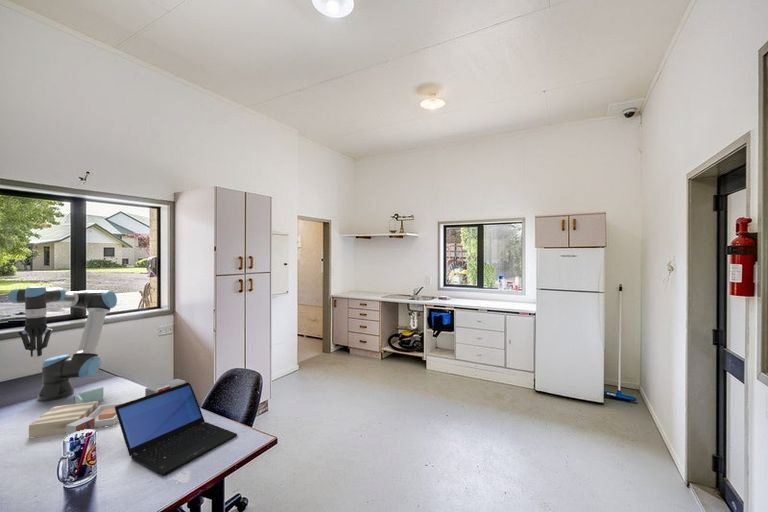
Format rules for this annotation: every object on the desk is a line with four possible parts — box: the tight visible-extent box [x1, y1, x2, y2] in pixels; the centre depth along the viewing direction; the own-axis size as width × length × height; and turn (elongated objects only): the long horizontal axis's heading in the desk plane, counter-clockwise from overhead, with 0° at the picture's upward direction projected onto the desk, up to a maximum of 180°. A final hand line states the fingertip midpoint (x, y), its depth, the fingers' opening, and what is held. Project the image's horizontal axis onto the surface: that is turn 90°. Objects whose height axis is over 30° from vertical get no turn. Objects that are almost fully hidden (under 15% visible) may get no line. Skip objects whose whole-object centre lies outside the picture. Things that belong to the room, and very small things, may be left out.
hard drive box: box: [144, 378, 187, 397], centre depth 165 cm, size 16×8×20 cm, turn 152°
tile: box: [98, 408, 116, 420], centre depth 171 cm, size 7×7×3 cm
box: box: [88, 401, 128, 429], centre depth 171 cm, size 20×13×4 cm, turn 20°
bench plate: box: [28, 401, 99, 439], centre depth 165 cm, size 20×18×6 cm
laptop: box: [115, 382, 238, 476], centre depth 149 cm, size 33×38×19 cm
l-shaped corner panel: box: [74, 387, 104, 406], centre depth 186 cm, size 12×12×8 cm
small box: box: [65, 417, 95, 437], centre depth 147 cm, size 8×6×10 cm
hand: (36, 362), depth 170 cm, fingers closed
